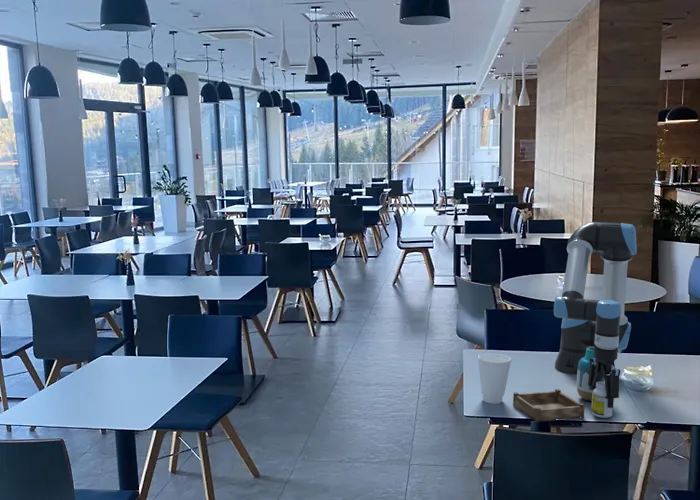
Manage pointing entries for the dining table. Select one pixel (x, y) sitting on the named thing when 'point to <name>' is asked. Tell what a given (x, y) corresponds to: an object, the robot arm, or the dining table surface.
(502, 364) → the cup
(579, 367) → the vase
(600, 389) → the pill bottle
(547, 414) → the crate
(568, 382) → the dining table surface
